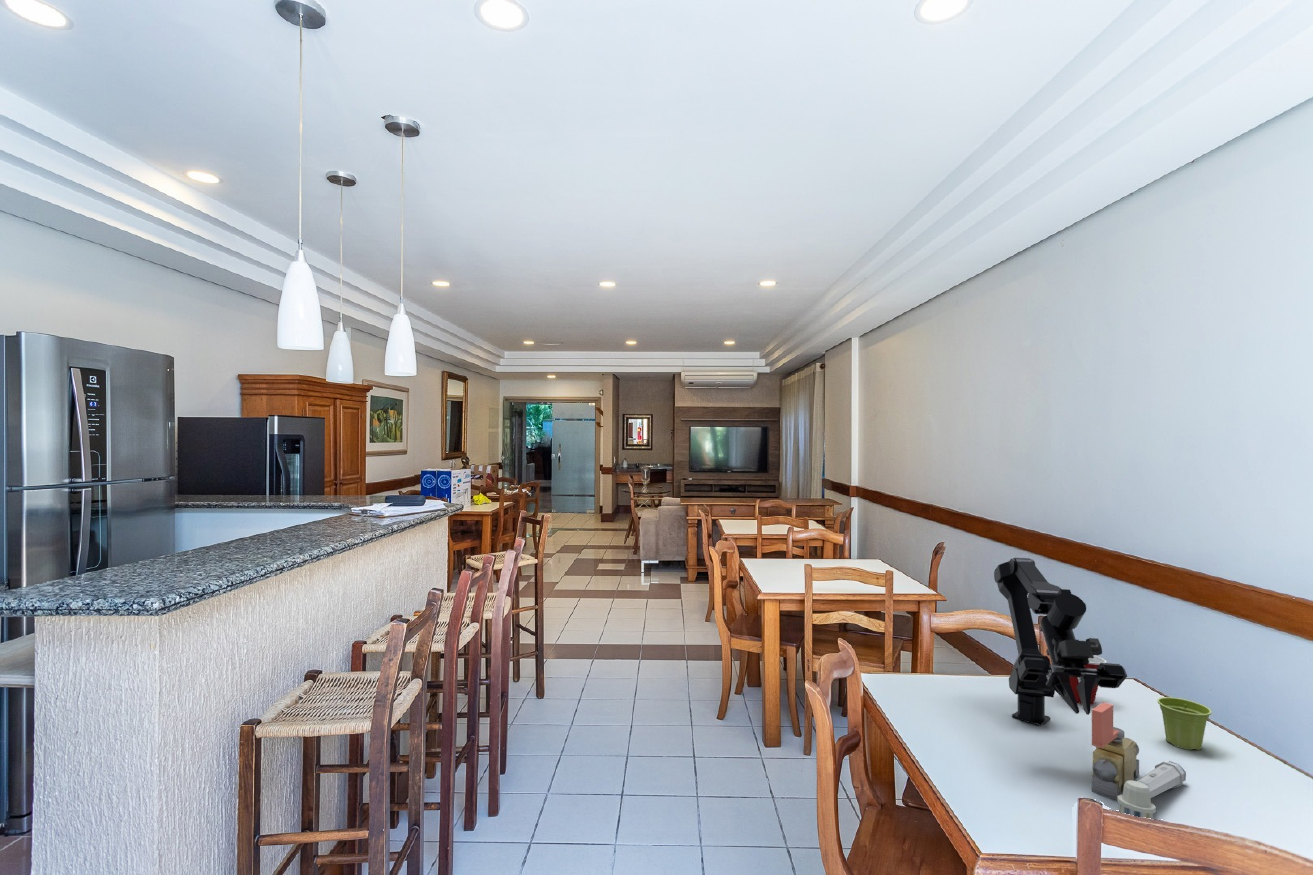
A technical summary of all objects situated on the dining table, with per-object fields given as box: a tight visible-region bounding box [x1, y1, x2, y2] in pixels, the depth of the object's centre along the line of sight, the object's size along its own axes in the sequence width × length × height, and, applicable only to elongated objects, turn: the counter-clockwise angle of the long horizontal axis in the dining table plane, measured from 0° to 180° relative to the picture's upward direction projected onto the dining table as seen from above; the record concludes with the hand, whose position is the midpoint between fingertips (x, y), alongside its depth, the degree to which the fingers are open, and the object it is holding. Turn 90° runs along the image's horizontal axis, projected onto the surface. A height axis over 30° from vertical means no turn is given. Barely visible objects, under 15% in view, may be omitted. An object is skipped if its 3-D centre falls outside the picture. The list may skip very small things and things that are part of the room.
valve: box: [1091, 737, 1140, 801], centre depth 126 cm, size 16×5×9 cm, turn 130°
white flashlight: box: [1116, 760, 1187, 820], centre depth 119 cm, size 5×7×25 cm
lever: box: [1091, 702, 1125, 748], centre depth 123 cm, size 11×3×7 cm, turn 128°
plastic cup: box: [1070, 655, 1108, 706], centre depth 168 cm, size 11×11×12 cm
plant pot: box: [1156, 696, 1213, 751], centre depth 143 cm, size 9×9×9 cm
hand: (1083, 713), depth 128 cm, fingers closed
